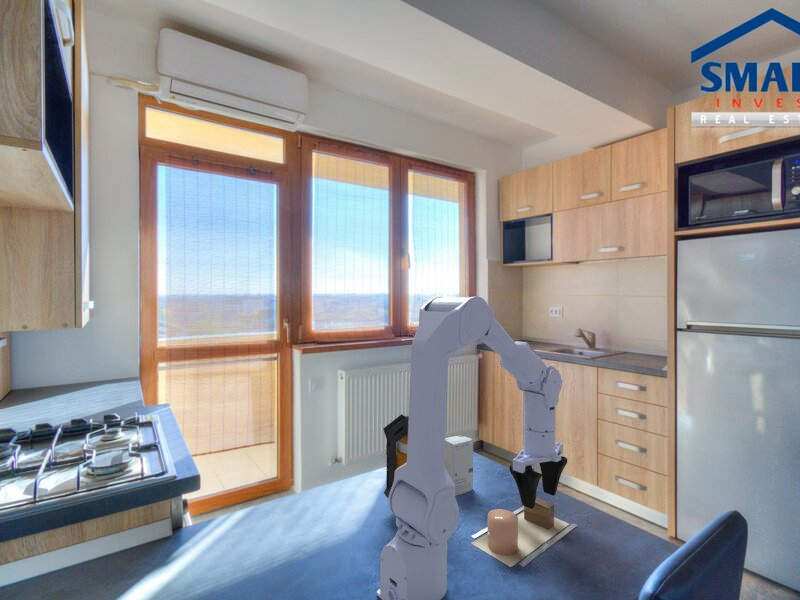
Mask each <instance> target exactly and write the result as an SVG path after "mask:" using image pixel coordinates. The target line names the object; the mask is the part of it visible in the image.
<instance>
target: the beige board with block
mask: <svg viewBox="0 0 800 600" xmlns="http://www.w3.org/2000/svg"><path fill="white" fill-rule="evenodd" d="M516 515H517V517H518V551H517V553H515V554H513V555H509V556H504V555H499V554H496V553H494V552H493V551H491V550H490V549H489V547H488V532H486V533H485V534H483V535H481V536H480V537H478V538H476V539H475V540H474V541H472V542H471V543H470V544H471V545H473V546H474V547H476V548H477V549H479V550H481V551H482V552H484V553H485V554H488V555H489V556H491V557H493V558H495V559H497V560H498V561H500V563H503V564H505V565H506V566H508V567H510V568H513V567H514V566H515V565H517V564H519V563H520V562H521V561H523V560H524V559H525V558H527V557H528V556H530V555H531V554H532V553H534V552H535V551H536V550H538V549H539V548H540V547H542V546H543V545H545V544H546V543H547V541H548V542H549V541H550V540H551V539H553V538H554V537H555V536H557V535H558V534H559V533H561V532H562V531H564V530H565V529H566V528H568V527H569V526H570V523H569V522H566V521H563V520H562V519H559V518H557V517H555V504H553V503H551V502H549V501H547V500H544V499H541V498H539V497H538V496H536V501H535V506H534V508H533V509H530V508H528V507H525V506H524V510H523V511H521V512H520V513H518V514H516Z"/></svg>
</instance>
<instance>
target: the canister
mask: <svg viewBox="0 0 800 600" xmlns="http://www.w3.org/2000/svg"><path fill="white" fill-rule="evenodd" d="M408 421H409V415H406V416H405V415H404V414H399V415H398V416H397V417H395V418H394V419H393V420H392V421H391V422H390V423H388V424H387V425H386V426H385V427H383V429H382V430H383V433H384V435H385V438H386V445H385V446H386V447H385V448H386V449H385V455H386V475H385V476H386V481H385V483H386V487H385V489H384V491H383V494H384V495H385V496H386V498H387V499H388V498H389V493H390V490H391V488H392V485H393V482H394V474H395V470H396V469H398V468H399V467H400V466H402V465H403V464H405V463H406V462H407V445H408Z"/></svg>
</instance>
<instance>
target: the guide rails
mask: <svg viewBox="0 0 800 600" xmlns="http://www.w3.org/2000/svg"><path fill="white" fill-rule="evenodd" d="M512 512H513V513H514V514H516V515H519V514H521V513H522V512H524V506H523V505H522V506H521V507H519V508H518V509H515V510H514V511H512ZM577 527H578V525H577V524H575V523H571V524H569V525H568V526H567V527H565V528H564V529H563V530H561V531H560V532H559V533H557V534H556V535H554V536H553V537H552V538H550V539H549V540H548V542H547V541H546V542H545V543H544V544H542V545H541V546H540V547H538V548H537V549H535V550H534V551H533V552H531V553H530V554H529V555H527V556H526V557H525V558H523V559H522V560H521V561H519V562H518V565H519V566H521V567H522V568H525V566H527V565H528V564H529V563H531V562H533V560H535V559H536V558H537V557H539V556H540V555H541V554H543V553H544V552H546V551H547V550H548V549H549V548H550V547H552V546H553V545H554V544H556V543H557V542H558V541H560V540H561V539H562V538H564V537H565V536H566V535H568V534H569V533H570V532H571V531H573V530H574V529H575V528H577ZM487 533H488V526H486V527H484V528H483V529H481V530H480V531H478V532H476V533H475V534H473V535H471V536H470V538H471V539H473V540H477V539H479V538H480V537H482V536H484V535H485V534H487Z"/></svg>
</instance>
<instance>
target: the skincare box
mask: <svg viewBox="0 0 800 600" xmlns="http://www.w3.org/2000/svg"><path fill="white" fill-rule="evenodd" d="M444 466H445V469H446V470H447V472H448V474H449V476H450V477H451V479H452V481H453V483H454V485H455V497H456V496H459V495H462V494H465V493H469V492H471V491H473V490H474V439H472V438H470V437H467V436H464V435H462V434H461V435H454V436H453V435H452V436H450V437H445V460H444Z"/></svg>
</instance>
